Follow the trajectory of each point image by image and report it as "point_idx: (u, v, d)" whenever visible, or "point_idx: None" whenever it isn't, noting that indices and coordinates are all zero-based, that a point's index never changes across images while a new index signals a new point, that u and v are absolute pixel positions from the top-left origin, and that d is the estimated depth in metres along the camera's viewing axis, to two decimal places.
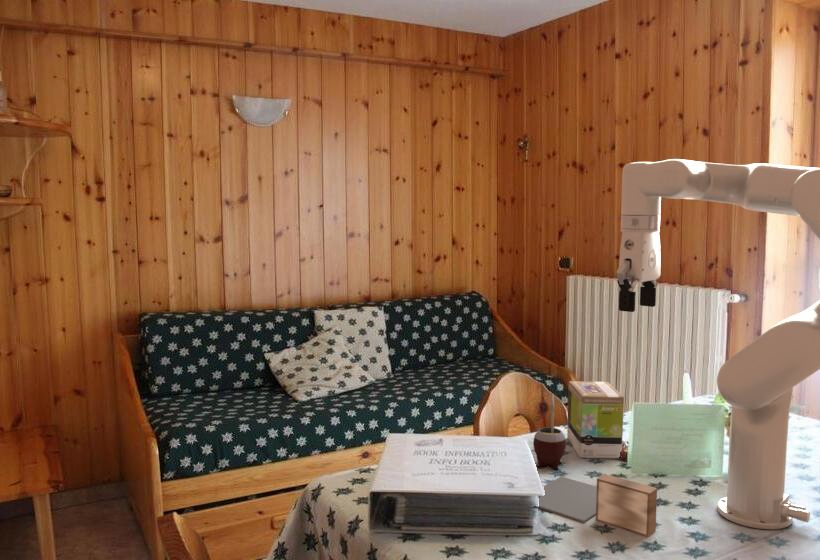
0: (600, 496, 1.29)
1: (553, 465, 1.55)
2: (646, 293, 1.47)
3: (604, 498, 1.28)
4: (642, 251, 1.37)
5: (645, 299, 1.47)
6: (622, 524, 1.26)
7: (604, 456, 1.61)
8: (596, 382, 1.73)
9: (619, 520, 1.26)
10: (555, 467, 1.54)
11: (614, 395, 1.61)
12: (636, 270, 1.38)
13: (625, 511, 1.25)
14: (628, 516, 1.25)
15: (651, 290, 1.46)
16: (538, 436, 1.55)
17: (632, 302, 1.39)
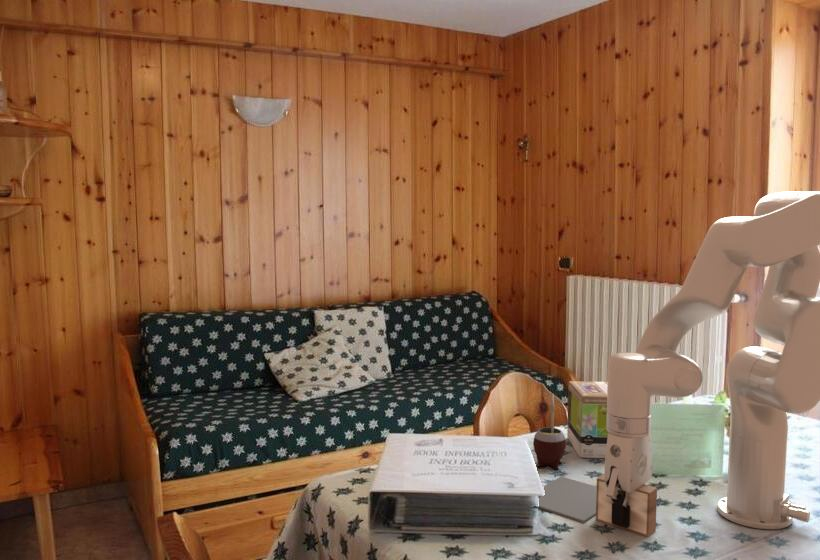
0: (600, 495, 1.28)
1: (553, 465, 1.55)
2: None
3: (604, 498, 1.28)
4: (630, 460, 1.21)
5: None
6: None
7: (604, 456, 1.61)
8: (596, 382, 1.73)
9: None
10: (555, 467, 1.54)
11: None
12: (623, 481, 1.21)
13: None
14: None
15: None
16: (538, 436, 1.55)
17: (626, 517, 1.25)
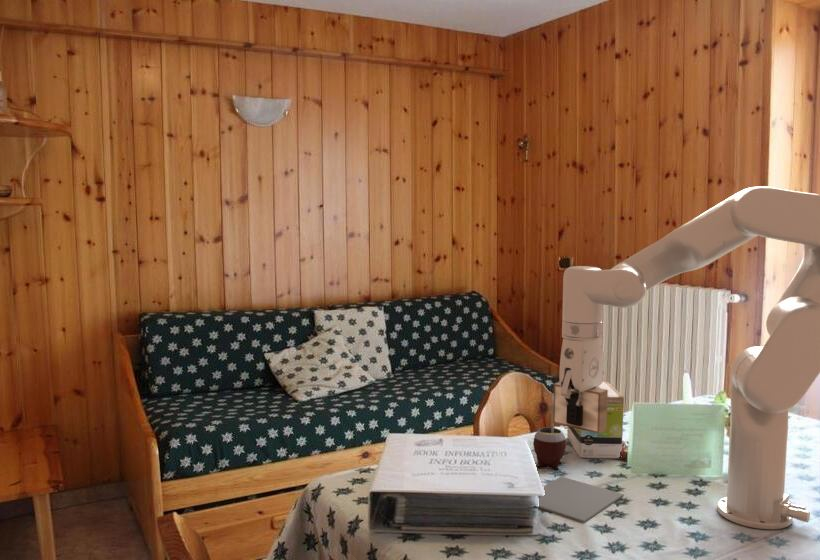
0: (556, 399, 1.40)
1: (553, 465, 1.55)
2: None
3: (560, 401, 1.39)
4: (582, 361, 1.32)
5: None
6: None
7: (604, 456, 1.61)
8: None
9: None
10: (555, 467, 1.54)
11: (614, 395, 1.61)
12: (576, 381, 1.33)
13: None
14: None
15: None
16: (538, 436, 1.55)
17: (579, 416, 1.36)
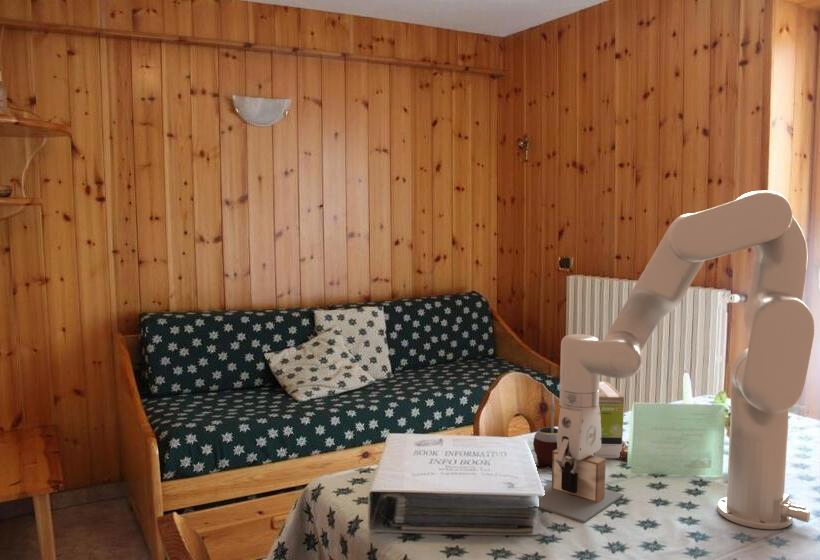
0: (555, 467, 1.42)
1: None
2: None
3: (559, 469, 1.41)
4: (579, 431, 1.34)
5: None
6: None
7: (604, 456, 1.61)
8: None
9: None
10: None
11: (614, 395, 1.60)
12: (573, 450, 1.34)
13: None
14: (579, 484, 1.38)
15: None
16: (538, 436, 1.55)
17: (574, 484, 1.37)
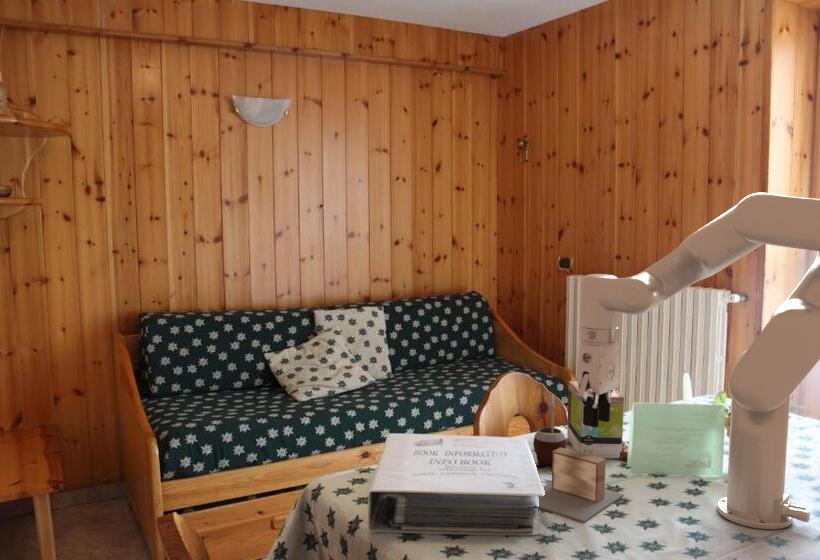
0: (555, 467, 1.42)
1: None
2: (600, 408, 1.46)
3: (559, 469, 1.41)
4: (599, 365, 1.38)
5: (599, 414, 1.46)
6: (574, 492, 1.39)
7: (604, 456, 1.61)
8: None
9: (572, 488, 1.39)
10: None
11: (614, 395, 1.61)
12: (593, 384, 1.39)
13: (577, 480, 1.38)
14: (579, 484, 1.38)
15: (605, 405, 1.45)
16: (538, 436, 1.55)
17: (596, 418, 1.42)
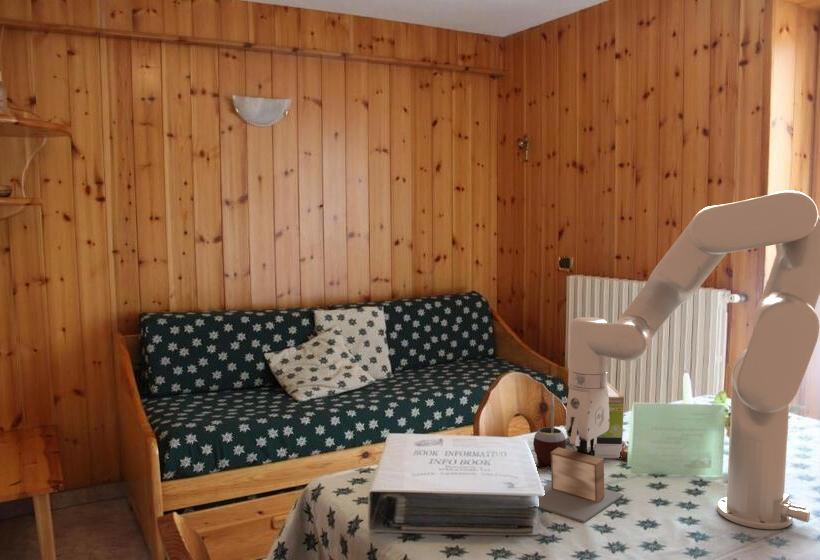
0: (554, 467, 1.41)
1: None
2: None
3: (557, 469, 1.41)
4: (587, 411, 1.36)
5: None
6: (574, 492, 1.39)
7: (604, 456, 1.61)
8: None
9: (571, 488, 1.39)
10: None
11: (614, 395, 1.60)
12: (582, 430, 1.37)
13: (576, 480, 1.38)
14: (578, 484, 1.38)
15: None
16: (538, 436, 1.55)
17: None
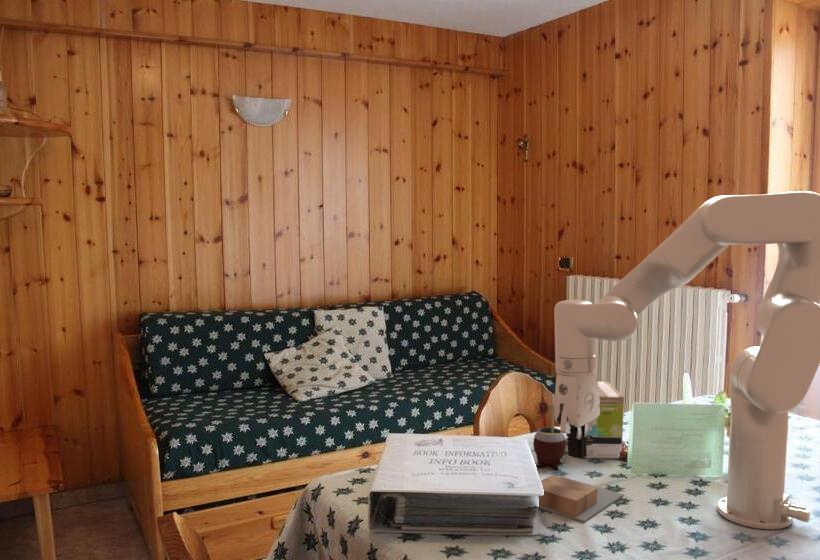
0: None
1: (553, 465, 1.55)
2: None
3: None
4: (576, 397, 1.31)
5: None
6: None
7: (604, 456, 1.61)
8: None
9: None
10: (555, 467, 1.54)
11: (614, 395, 1.61)
12: (571, 416, 1.32)
13: None
14: None
15: None
16: (538, 436, 1.55)
17: (581, 449, 1.36)
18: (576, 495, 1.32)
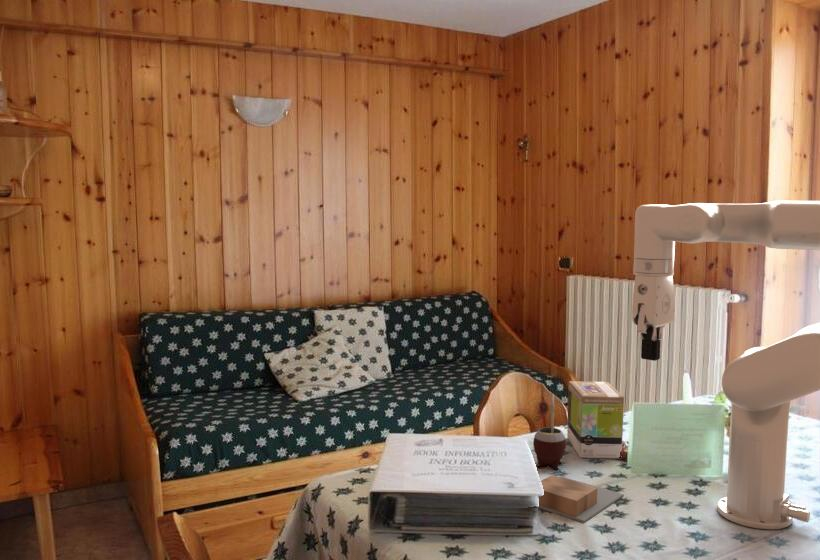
0: None
1: (553, 465, 1.55)
2: None
3: None
4: (655, 296, 1.34)
5: None
6: None
7: (604, 456, 1.61)
8: (596, 382, 1.73)
9: None
10: (555, 467, 1.54)
11: (614, 395, 1.61)
12: (650, 315, 1.35)
13: None
14: None
15: None
16: (538, 436, 1.55)
17: (655, 351, 1.39)
18: (576, 495, 1.32)
